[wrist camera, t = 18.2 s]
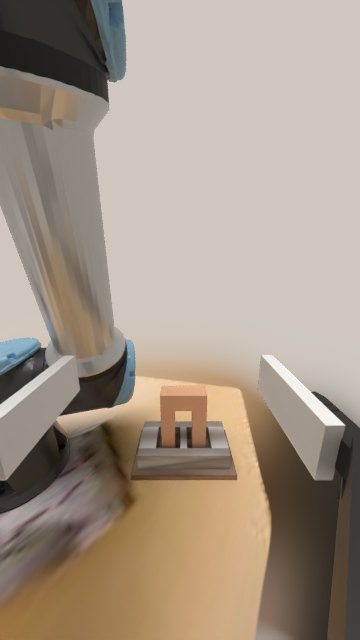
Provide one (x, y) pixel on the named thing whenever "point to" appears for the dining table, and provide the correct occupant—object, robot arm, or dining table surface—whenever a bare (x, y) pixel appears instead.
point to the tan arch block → (183, 401)
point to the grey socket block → (183, 455)
